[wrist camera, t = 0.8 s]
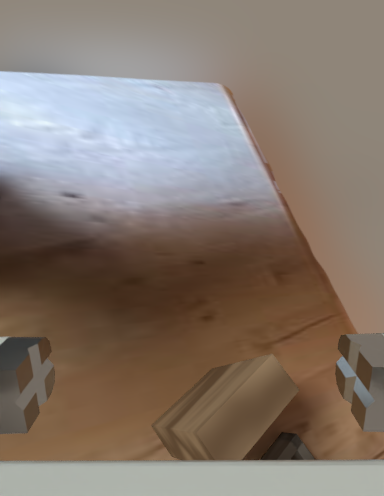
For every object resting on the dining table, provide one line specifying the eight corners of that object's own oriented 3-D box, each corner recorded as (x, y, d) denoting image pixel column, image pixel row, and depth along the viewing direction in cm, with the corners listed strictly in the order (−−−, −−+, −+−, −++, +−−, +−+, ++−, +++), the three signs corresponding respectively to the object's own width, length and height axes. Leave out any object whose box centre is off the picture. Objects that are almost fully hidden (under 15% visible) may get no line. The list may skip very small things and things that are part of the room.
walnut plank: (150, 425, 38) (196, 432, 26) (211, 368, 43) (272, 353, 32) (171, 456, 38) (227, 477, 26) (230, 395, 43) (299, 389, 31)
